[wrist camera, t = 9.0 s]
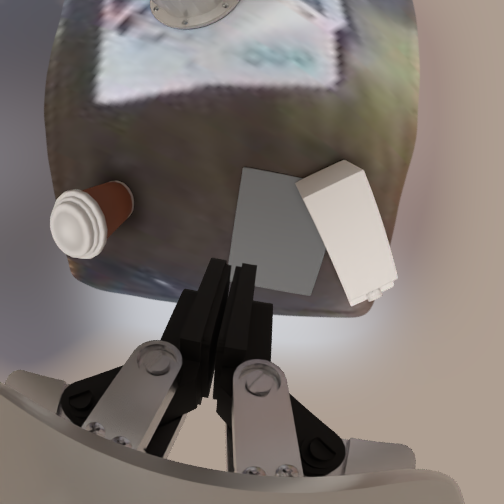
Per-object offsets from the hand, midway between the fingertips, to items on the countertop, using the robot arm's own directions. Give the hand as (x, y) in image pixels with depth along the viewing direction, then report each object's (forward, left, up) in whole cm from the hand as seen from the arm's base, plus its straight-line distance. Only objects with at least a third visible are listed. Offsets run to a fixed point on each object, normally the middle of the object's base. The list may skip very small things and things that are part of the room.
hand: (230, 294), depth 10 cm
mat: (+8, +4, -26) cm, 28 cm away
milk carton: (-2, +7, -22) cm, 23 cm away
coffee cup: (+7, -21, -26) cm, 35 cm away
